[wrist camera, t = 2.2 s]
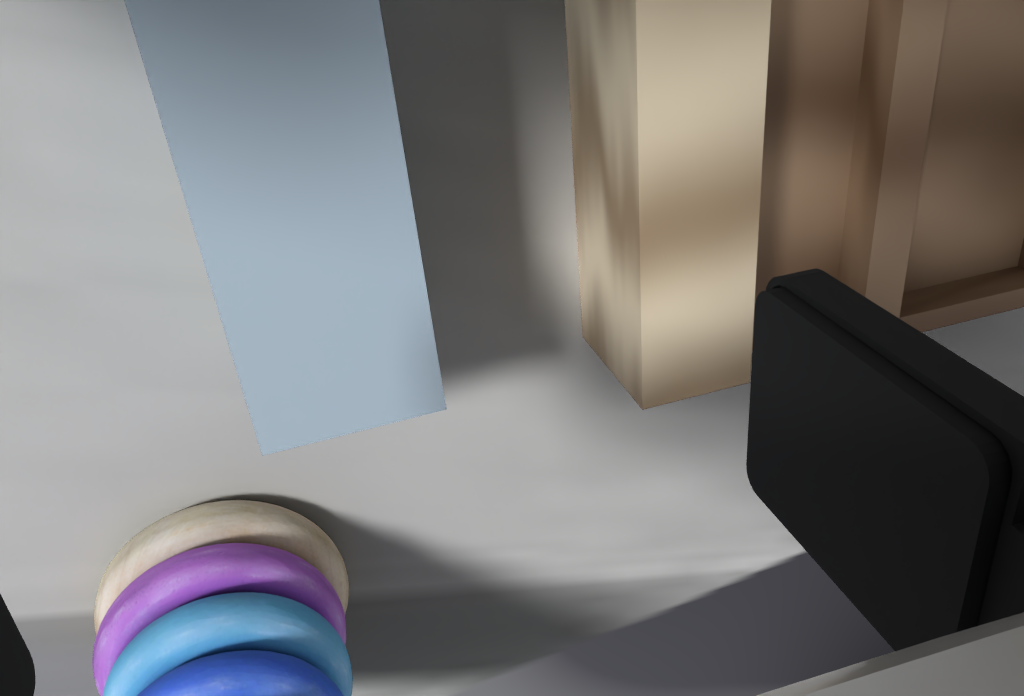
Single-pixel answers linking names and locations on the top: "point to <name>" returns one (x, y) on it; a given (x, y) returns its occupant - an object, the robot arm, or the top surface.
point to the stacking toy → (224, 607)
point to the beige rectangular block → (668, 187)
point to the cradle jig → (897, 153)
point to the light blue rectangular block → (298, 207)
